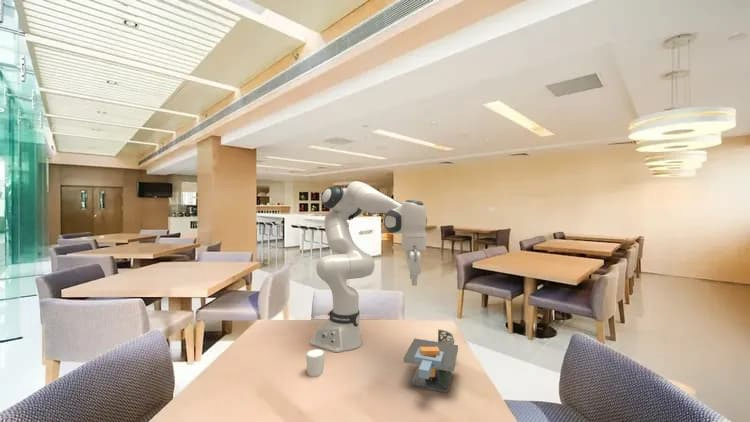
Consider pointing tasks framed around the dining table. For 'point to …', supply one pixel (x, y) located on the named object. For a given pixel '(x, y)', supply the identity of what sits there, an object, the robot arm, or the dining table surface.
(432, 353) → the orange t-shaped block
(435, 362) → the bracket
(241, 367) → the dining table surface
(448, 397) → the dining table surface
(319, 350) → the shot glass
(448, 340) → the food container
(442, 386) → the metal plate
